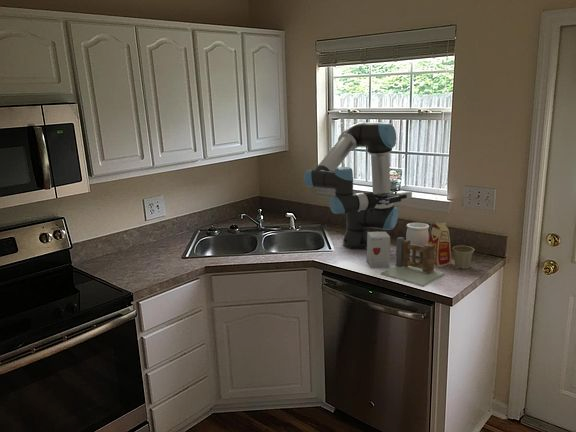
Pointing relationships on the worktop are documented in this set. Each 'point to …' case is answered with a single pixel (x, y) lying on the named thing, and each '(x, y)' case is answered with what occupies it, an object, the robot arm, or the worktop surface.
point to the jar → (417, 235)
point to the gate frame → (409, 270)
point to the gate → (425, 256)
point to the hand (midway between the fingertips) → (410, 194)
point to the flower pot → (462, 256)
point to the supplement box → (378, 249)
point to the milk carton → (441, 244)
